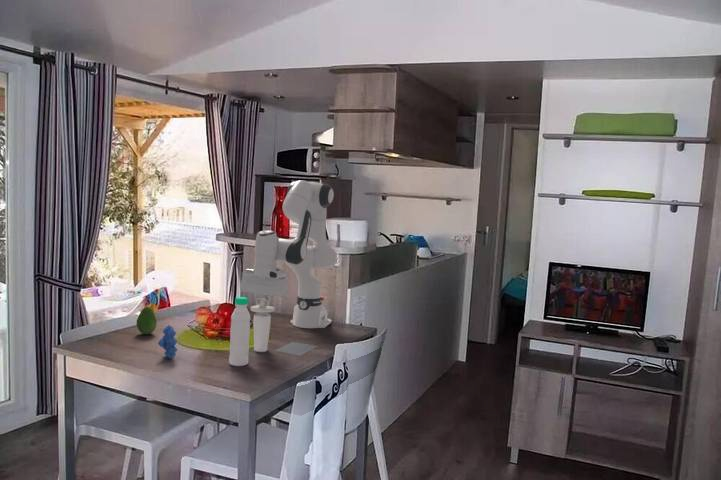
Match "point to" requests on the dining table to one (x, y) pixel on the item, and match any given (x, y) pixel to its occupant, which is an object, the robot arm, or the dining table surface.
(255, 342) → the drinking glass
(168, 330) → the grapes
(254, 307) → the lid
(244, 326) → the water bottle
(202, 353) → the dining table surface
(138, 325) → the avocado
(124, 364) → the dining table surface
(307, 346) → the mat
